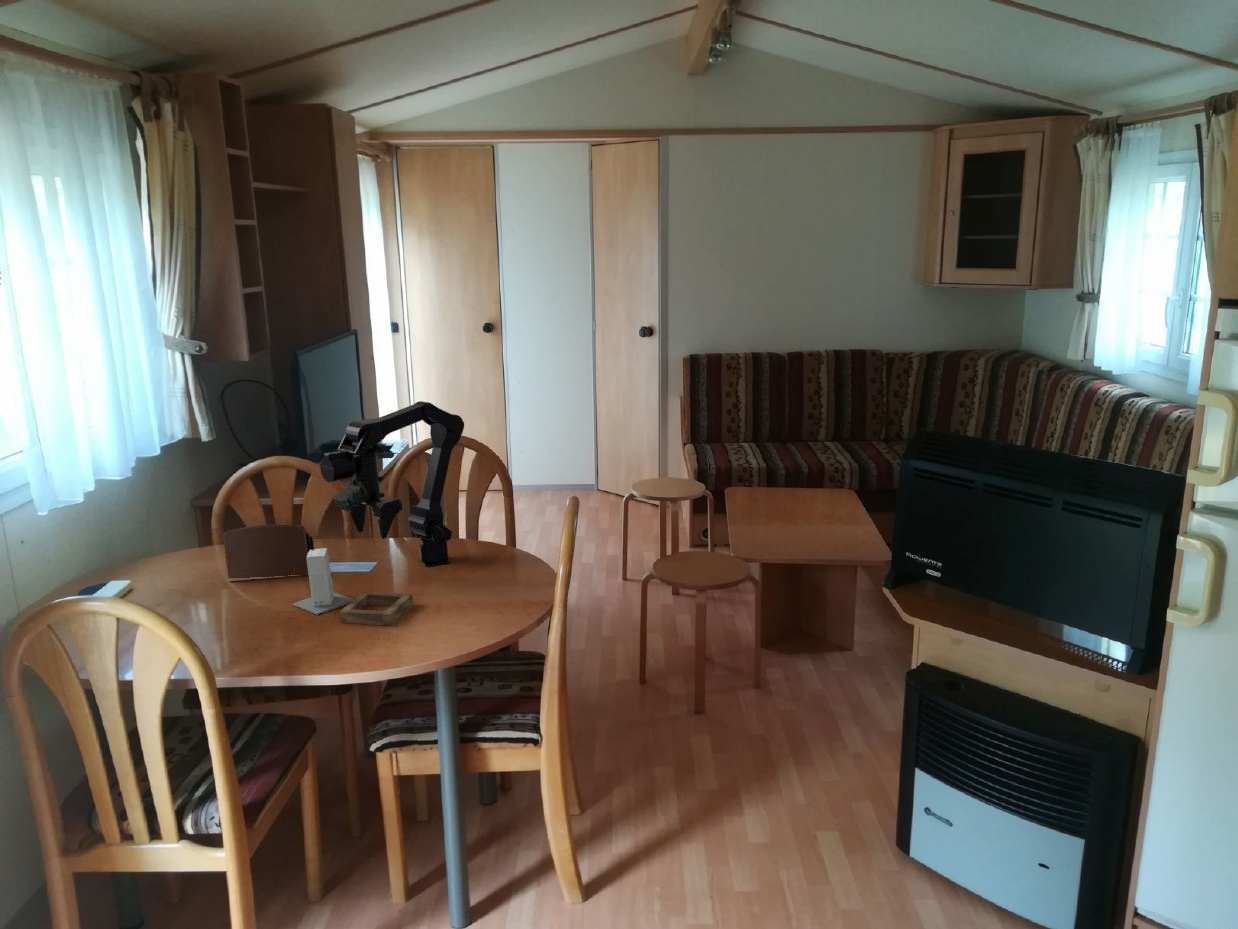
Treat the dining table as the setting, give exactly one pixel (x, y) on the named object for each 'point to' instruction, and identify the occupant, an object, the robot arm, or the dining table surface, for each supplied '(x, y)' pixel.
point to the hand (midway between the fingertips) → (372, 535)
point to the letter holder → (267, 551)
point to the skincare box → (320, 577)
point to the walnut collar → (388, 617)
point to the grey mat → (337, 602)
